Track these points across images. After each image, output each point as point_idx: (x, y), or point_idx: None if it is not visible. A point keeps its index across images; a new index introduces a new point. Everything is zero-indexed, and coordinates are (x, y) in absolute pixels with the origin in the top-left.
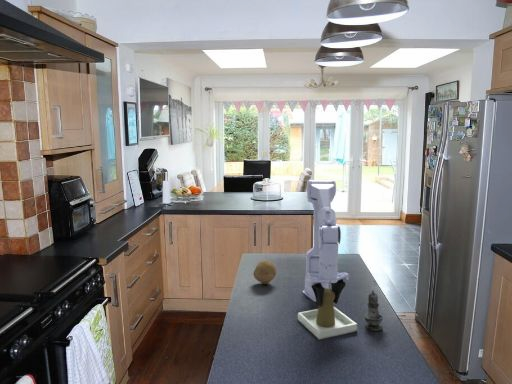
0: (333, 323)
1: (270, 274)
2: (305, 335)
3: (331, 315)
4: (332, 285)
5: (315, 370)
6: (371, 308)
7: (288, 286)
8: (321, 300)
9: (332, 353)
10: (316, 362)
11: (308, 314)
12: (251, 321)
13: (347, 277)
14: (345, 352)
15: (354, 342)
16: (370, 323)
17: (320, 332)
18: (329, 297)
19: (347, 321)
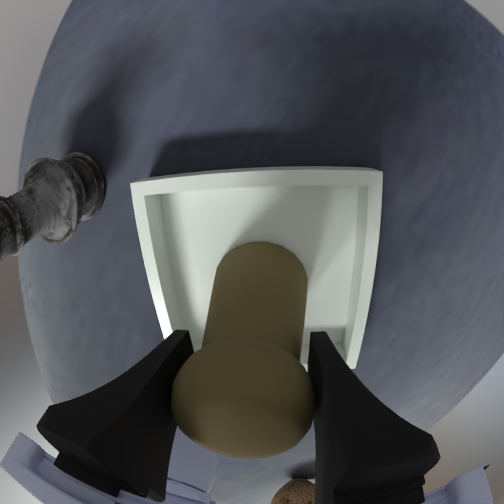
0: (236, 251)
1: (300, 500)
2: (400, 226)
3: (244, 274)
4: (163, 460)
5: (454, 19)
6: (22, 205)
7: (250, 466)
8: (332, 361)
9: (363, 49)
10: (441, 43)
11: (307, 355)
12: (465, 360)
13: (18, 453)
14: (302, 31)
15: (212, 86)
16: (77, 173)
17: (374, 170)
18: (254, 368)
19: (159, 242)
